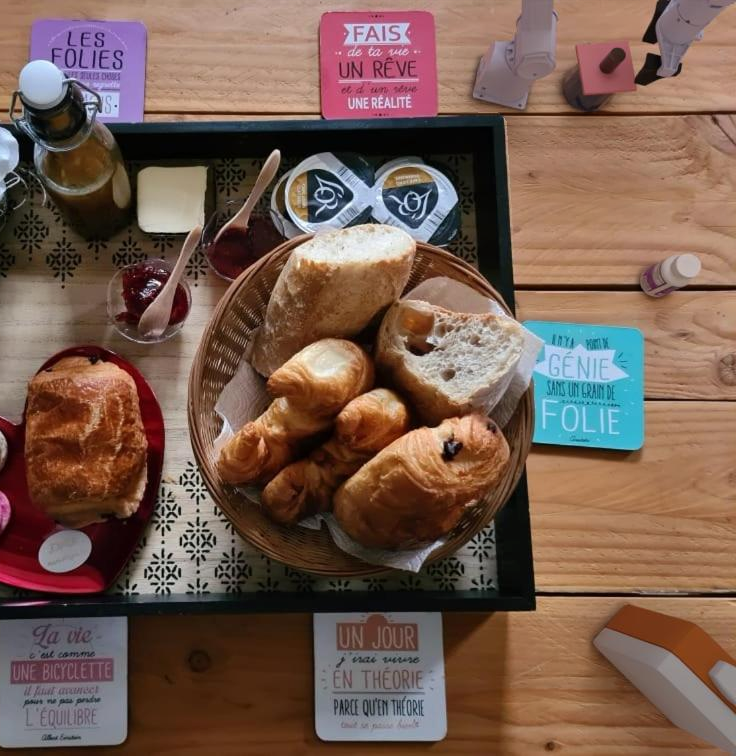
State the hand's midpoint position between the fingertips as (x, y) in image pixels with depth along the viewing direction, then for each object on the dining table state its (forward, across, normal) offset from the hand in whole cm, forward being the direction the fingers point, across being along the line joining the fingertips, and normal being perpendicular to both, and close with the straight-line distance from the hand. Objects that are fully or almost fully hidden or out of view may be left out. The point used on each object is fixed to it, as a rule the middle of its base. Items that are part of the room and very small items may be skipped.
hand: (644, 62), depth 120 cm
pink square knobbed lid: (+4, 0, +4) cm, 6 cm away
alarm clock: (+11, -94, -23) cm, 98 cm away
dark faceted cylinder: (+10, 0, +5) cm, 11 cm away
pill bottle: (+11, -32, -13) cm, 36 cm away
